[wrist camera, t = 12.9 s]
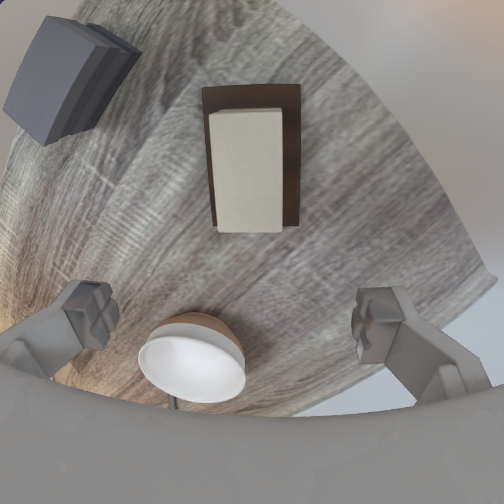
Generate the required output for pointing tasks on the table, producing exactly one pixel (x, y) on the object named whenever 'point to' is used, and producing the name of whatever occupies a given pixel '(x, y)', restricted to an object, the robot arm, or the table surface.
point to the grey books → (67, 78)
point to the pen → (172, 401)
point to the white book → (247, 170)
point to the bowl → (194, 359)
